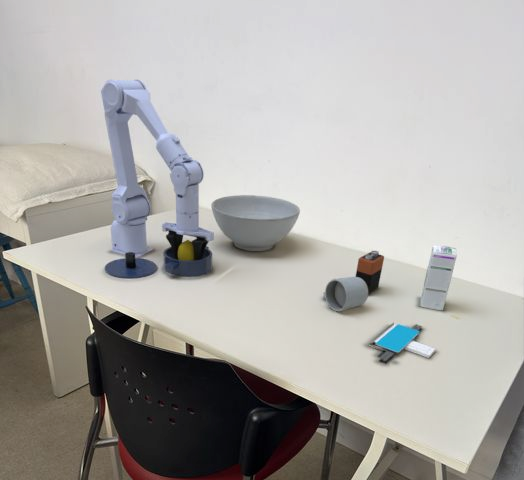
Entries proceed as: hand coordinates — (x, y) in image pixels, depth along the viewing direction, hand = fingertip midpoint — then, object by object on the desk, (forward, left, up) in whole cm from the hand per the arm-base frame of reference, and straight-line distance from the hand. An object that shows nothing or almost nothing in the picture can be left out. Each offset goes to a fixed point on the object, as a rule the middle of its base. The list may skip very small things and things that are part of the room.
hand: (188, 261), depth 134 cm
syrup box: (+63, +14, -2) cm, 65 cm away
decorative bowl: (+6, +29, -2) cm, 30 cm away
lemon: (0, 0, -2) cm, 2 cm away
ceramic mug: (+43, +1, -2) cm, 43 cm away
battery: (+46, +14, -2) cm, 48 cm away
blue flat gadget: (+61, -11, -2) cm, 62 cm away
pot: (0, 0, -2) cm, 2 cm away
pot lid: (-12, -9, -2) cm, 15 cm away
